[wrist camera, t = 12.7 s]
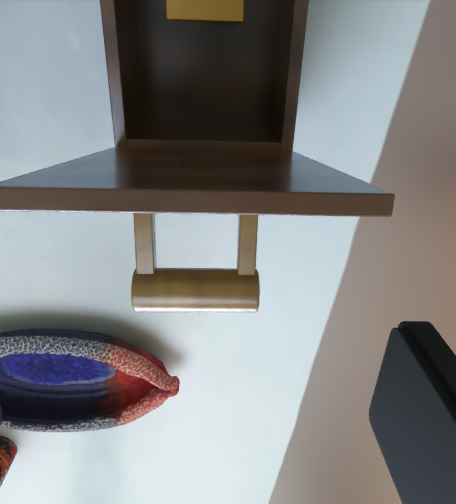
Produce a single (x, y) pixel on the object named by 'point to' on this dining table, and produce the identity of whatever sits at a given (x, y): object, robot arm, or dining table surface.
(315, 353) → the dining table surface
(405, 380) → the robot arm
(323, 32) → the dining table surface
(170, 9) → the block
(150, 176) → the lid
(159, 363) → the dish
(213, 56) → the chest
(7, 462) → the deodorant
